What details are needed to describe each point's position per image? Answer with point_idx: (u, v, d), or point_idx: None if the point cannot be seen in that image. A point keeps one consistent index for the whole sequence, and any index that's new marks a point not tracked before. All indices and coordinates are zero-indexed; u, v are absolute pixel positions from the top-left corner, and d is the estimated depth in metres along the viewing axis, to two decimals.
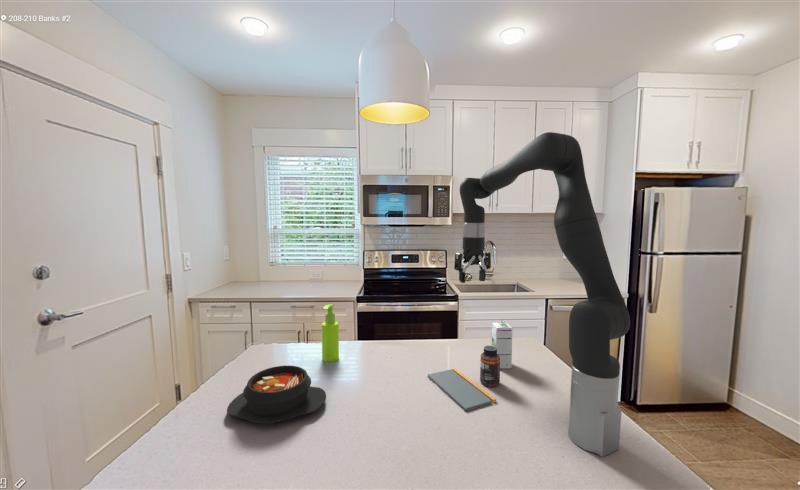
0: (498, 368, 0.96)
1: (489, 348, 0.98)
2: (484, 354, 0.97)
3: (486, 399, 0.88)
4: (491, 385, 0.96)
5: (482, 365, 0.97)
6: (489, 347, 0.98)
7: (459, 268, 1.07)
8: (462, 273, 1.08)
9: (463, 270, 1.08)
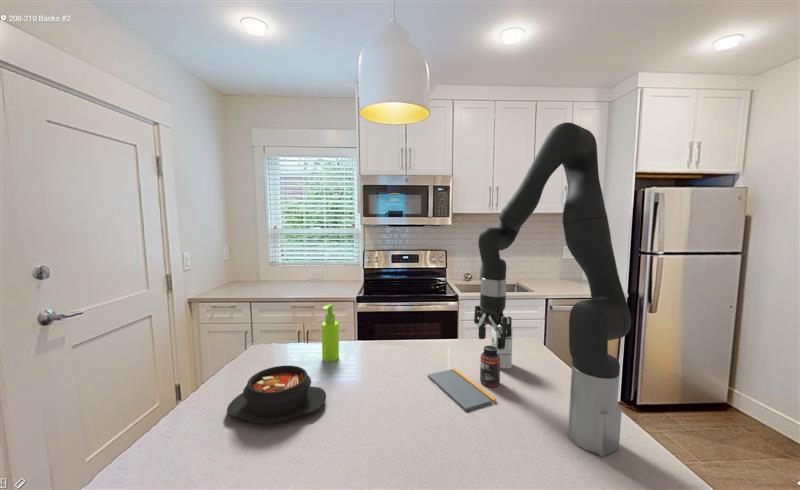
0: (498, 368, 0.96)
1: (489, 348, 0.98)
2: (484, 354, 0.97)
3: (486, 399, 0.88)
4: (491, 385, 0.96)
5: (482, 365, 0.97)
6: (489, 347, 0.98)
7: None
8: None
9: None
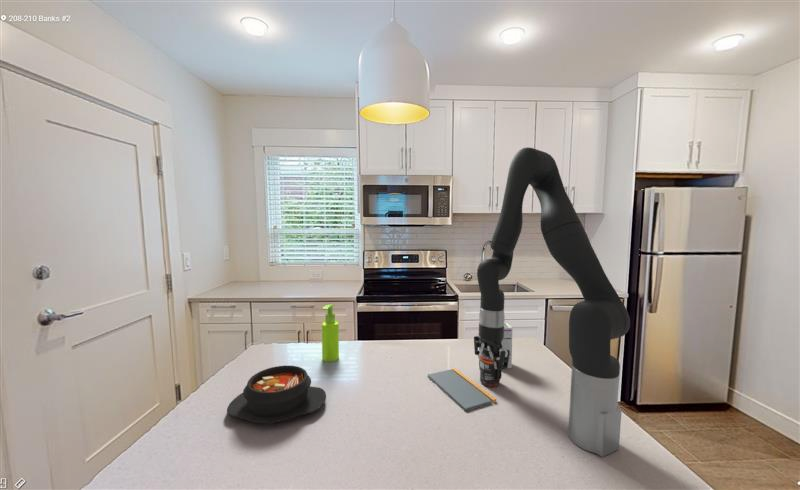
0: None
1: None
2: (484, 354, 0.97)
3: (486, 399, 0.88)
4: (491, 385, 0.96)
5: (482, 365, 0.97)
6: None
7: None
8: None
9: None
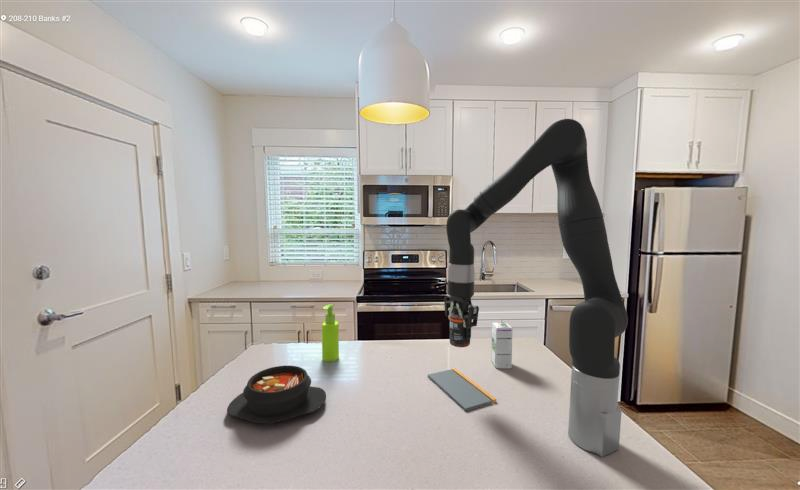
0: None
1: None
2: (454, 313, 0.91)
3: (486, 399, 0.88)
4: (460, 345, 0.89)
5: (451, 324, 0.91)
6: None
7: None
8: None
9: None
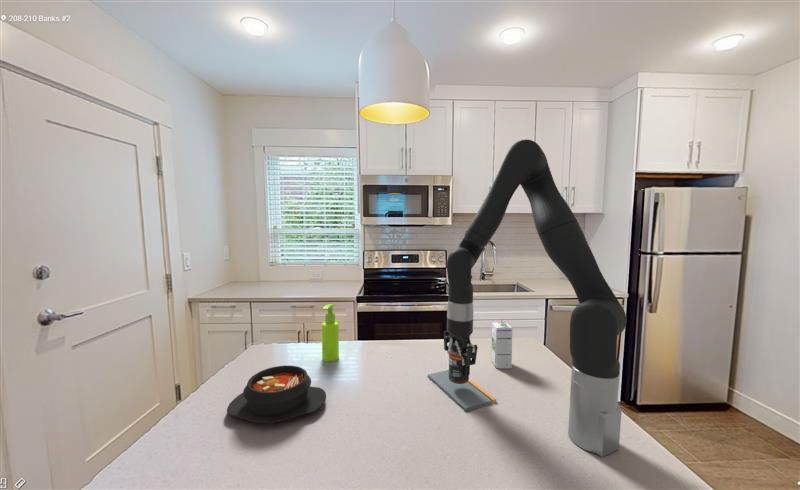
0: None
1: None
2: (453, 349, 0.92)
3: (486, 399, 0.88)
4: (459, 382, 0.90)
5: (450, 361, 0.92)
6: None
7: None
8: None
9: None
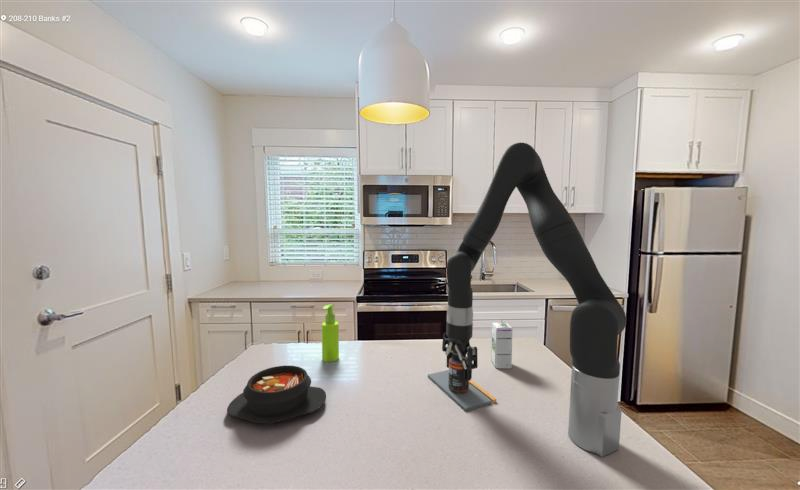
0: None
1: None
2: (453, 358, 0.92)
3: (486, 399, 0.88)
4: (459, 391, 0.90)
5: (450, 370, 0.92)
6: None
7: None
8: None
9: None
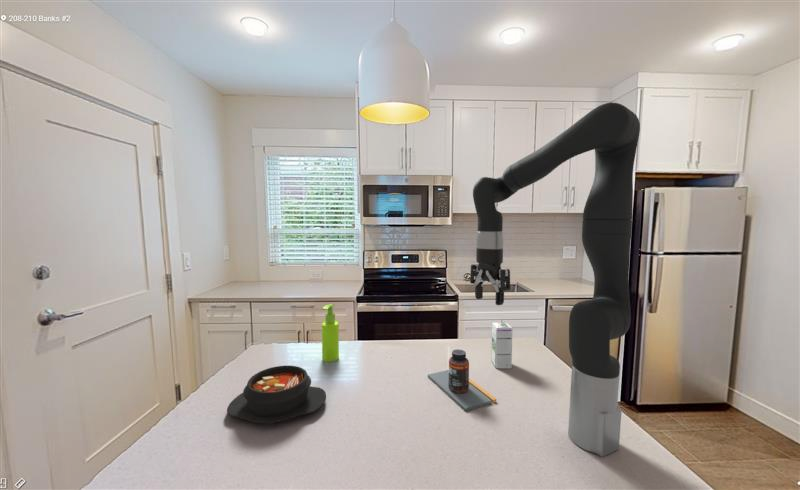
0: (466, 373, 0.91)
1: (458, 352, 0.92)
2: (452, 358, 0.92)
3: (486, 399, 0.88)
4: (459, 391, 0.90)
5: (450, 370, 0.92)
6: (458, 351, 0.93)
7: None
8: None
9: None
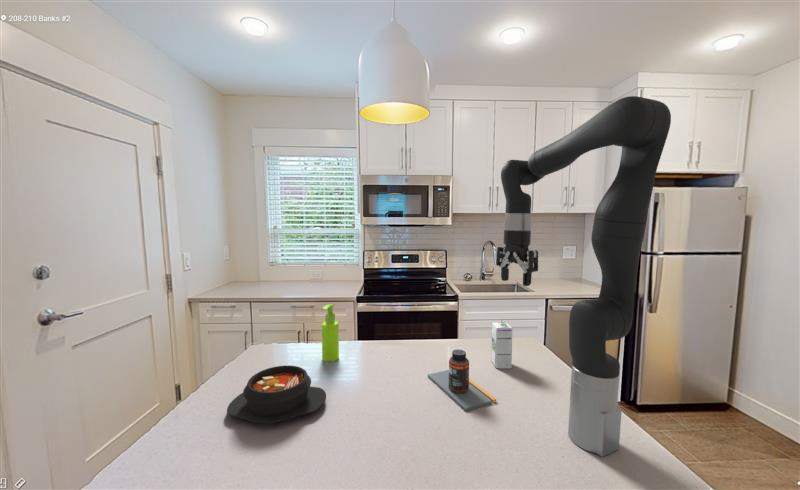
0: (466, 373, 0.91)
1: (458, 352, 0.92)
2: (453, 358, 0.92)
3: (486, 399, 0.88)
4: (459, 391, 0.90)
5: (450, 370, 0.92)
6: (458, 351, 0.93)
7: None
8: None
9: None
